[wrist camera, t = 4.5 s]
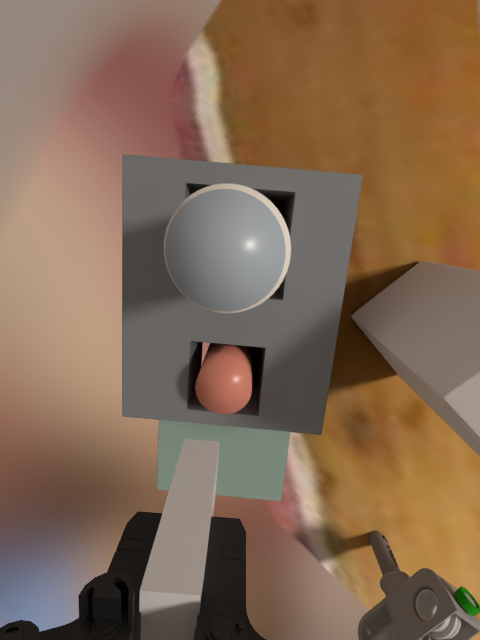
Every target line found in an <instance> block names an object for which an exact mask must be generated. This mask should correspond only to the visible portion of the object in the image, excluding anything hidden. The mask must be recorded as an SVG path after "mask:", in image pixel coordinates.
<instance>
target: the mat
mask: <svg viewBox="0 0 480 640" xmlns="http://www.w3.org/2000/svg"><path fill="white" fill-rule="evenodd" d="M289 438H290V432H285V431H274V430H264V429H253V428H242V427H232V426H221V425H210V424H199V423H189V422H178V421H167V420H159V438H158V439H159V440H158V471H157V489H160V490H170V486H171V483H172V480H173V476H174V473H175V469H176V466H177V463H178V459H179V456H180V452H181V449H182V446H183V442H184V439H196V440H208V441H220V443H219V456H218V469H217V481H216V494H215V495H224V496H233V497H244V498H254V499H265V500H275V501H281V497H282V490H283V483H284V475H285V468H286V460H287V453H288V445H289Z"/></svg>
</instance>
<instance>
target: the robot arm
mask: <svg viewBox="0 0 480 640" xmlns="http://www.w3.org/2000/svg"><path fill="white" fill-rule="evenodd" d="M219 443H220V441H208V440H196V439H184V442H183V446H182V449H181V452H180V456H179V459H178V463H177V466H176V469H175V473H174V476H173V480H172V483H171V486H170V490H169V493H168V496H167V500H166V503H165V507H164V510H163V513H162V514H161V513H150V512H137V513H136V514H135V515H134V516H133V517H132V518H131V520H130V521H129V522H128V523H127V525H126V527H125V529H124V532H123V534H122V537H121V540H120V542H119V544H118V547H117V550H116V552H115V554H114V556H113V559H112V561H111V564H110V566H109V569H108V571H107V573H104V574H102V575H100V576H98V577H95V578H94V579H93V580H91V581H90V582H89V583H88V584H86V585H85V587H84V588H83V590H82V591H81V593H80V594H79V618H78V619H76V620H75V621H73V622H71V623H69V624H66V625H63V626H60V627H57V628H53V629H49V630H45V631H41V632H39V629H38V627H37V626H36V625H35V624H33V623H32V622H30V621H23V620H20V621H16V622H12V623H8V624H7V625H5V626H3V627H1V628H0V640H266V639H264V638H263V637H261V636H260V635H259V634H258V633H257V632H256V631H255V630H254V629H253V627H252V625H251V624H250V622H249V619H248V616H247V612H246V531H245V529H244V527H243V525H242V522H241V521H240V519H236V518H222V517H213V512H214V503H215V494H216V481H217V469H218V456H219Z"/></svg>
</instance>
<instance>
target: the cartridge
mask: <svg viewBox="0 0 480 640" xmlns="http://www.w3.org/2000/svg"><path fill="white" fill-rule="evenodd" d="M164 257H165V263H166V266H167V270H168V272H169V274H170V277H171V279H172V280H173V282H174V284H175V285H176V287H177V288H178V289H179V290H180V292H181V293H182V294H183V295H184V296H185V297H186V298H188V299H189V300H190V301H192V302H193V303H195V304H196V305H198V306H200V307H202V308H204V309H207V310H210V311H214V312H219V313H237V312H242V311H246V310H249V309H252V308H254V307H256V306H258V305H260V304H261V303H263V302H264V301H266V300H267V299H268V298H269V297H270V296H271V295H273V294H274V292H275V291H276V290H277V289H278V288H279V286H280V284H281V283H282V281H283V279H284V277H285V275H286V273H287V270H288V267H289V263H290V257H291V241H290V235H289V231H288V228H287V225H286V223H285V221H284V219H283V217H282V215H281V213H280V212H279V210H278V209H277V208H276V207H275V205H274V204H273V203H272V202H271V201H270V200H269V199H267V198H266V197H265V196H264V195H262V194H261V193H259V192H258V191H256V190H253V189H251V188H249V187H246V186H242V185H238V184H225V183H223V184H215V185H211V186H207V187H205V188H202V189H200V190H198V191H196V192H195V193H193V194H191V195H190V196H189V197H187V198H186V199H185V200H184V201H183V202H182V203H181V204H180V205H179V206H178V208H177V209H176V210H175V212H174V213H173V215H172V217H171V219H170V221H169V223H168V226H167V229H166V233H165V237H164Z"/></svg>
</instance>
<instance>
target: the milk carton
mask: <svg viewBox="0 0 480 640" xmlns="http://www.w3.org/2000/svg"><path fill="white" fill-rule="evenodd" d="M351 318H352V319H353V320H354V321H355V323H356V324H357V325H358V326H359V328H360V329H361V330H362V331H363V332H364V334H365V335H366V336H367V337H368V339H369V340H370V341H371V342H372V344H373V345H374V346H375V347H376V348H377V350H378V351H379V352H380V353H381V355H382V356H383V357H384V358H385V359H386V361H387V362H388V363H389V364H390V366H391V367H392V368H393V369H394V371H395V372H396V373H397V374H398V375H399V377H400V378H401V379H402V380H403V381H404V382H405V383H406V384H407V385H408V386H409V387H410V388H411V389H412V390H413V391H414V392H415V393H416V394H417V395H418V396H419V397H420V398H421V399H422V400H424V401H425V402H426V403H427V404H428V405H429V406H430V407H431V408H432V409H433V410H434V411H435V412H436V413H437V414H438V415H439V416H440V417H441V418H442V419H443V420H444V421H445V422H446V423H447V424H448V425H449V426H450V427H451V428H452V429H453V430H454V431H455V432H456V433H457V434H458V435H459V436H460V437H461V438H462V439H463V440H464V441H465V442H466V443H467V444H468V445H469V446H470V447H471V448H472V449H473V450H474V451H475V452H476V453H477V454H478V455H479V456H480V271H478V270H472V269H467V268H461V267H456V266H450V265H444V264H439V263H433V262H427V261H421V262H419V263H418V264H416V265H415V266H414V267H412V268H411V269H410V270H408V271H407V272H406V273H405V274H403V275H402V276H401V277H399V278H398V279H397V280H396V281H394V282H393V283H392V284H390V285H389V286H388V287H387V288H385V289H384V290H383V291H381V292H380V293H379V294H377V295H376V296H375V297H374V298H372V299H371V300H370V301H368V302H367V303H366V304H365V305H363V306H362V307H361V308H359V309H358V310H357V311H356V312H354V313H353V314H352V315H351Z"/></svg>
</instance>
